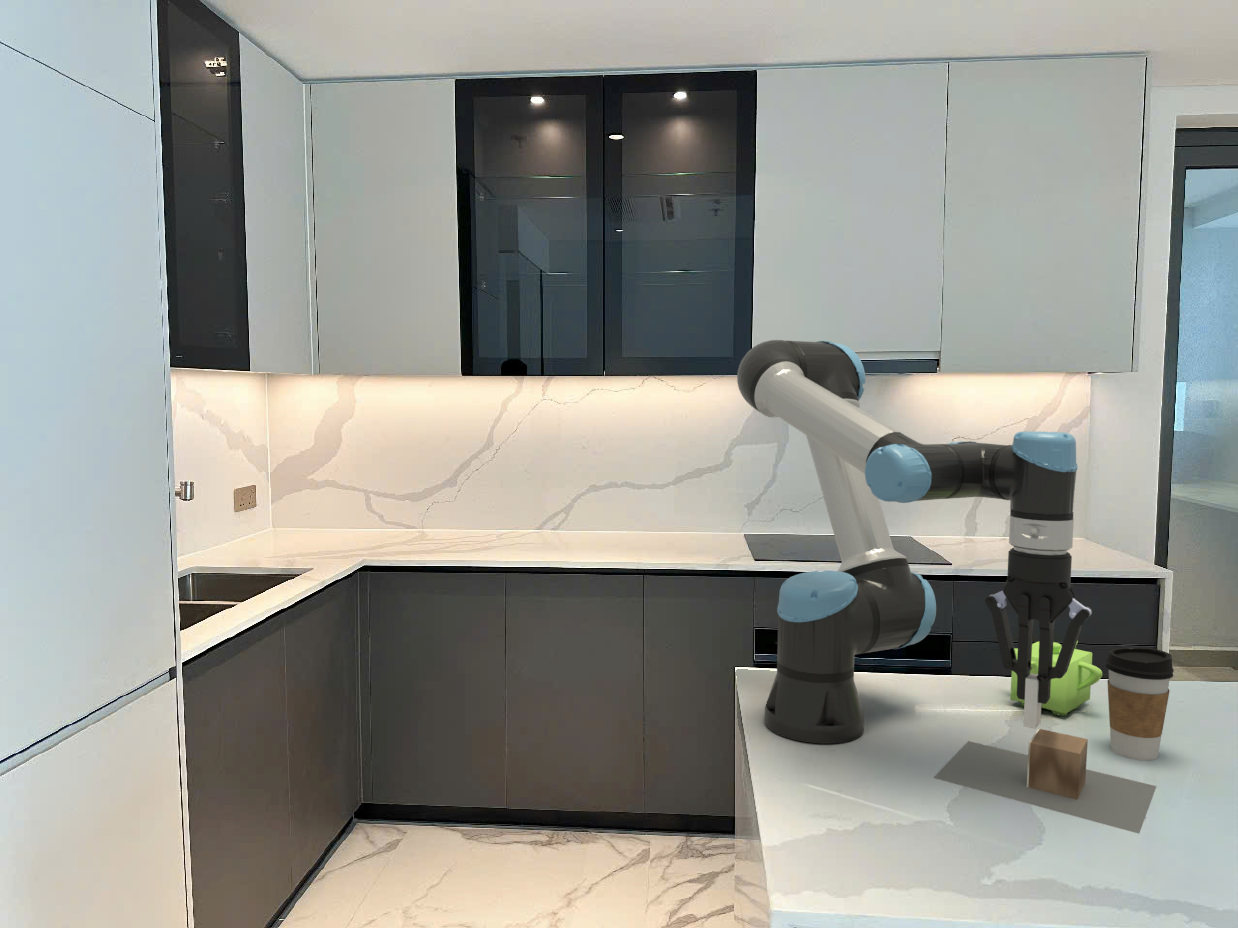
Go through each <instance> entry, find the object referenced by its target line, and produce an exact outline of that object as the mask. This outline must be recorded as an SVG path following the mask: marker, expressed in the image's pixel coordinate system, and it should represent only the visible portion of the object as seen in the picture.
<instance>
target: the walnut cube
mask: <svg viewBox="0 0 1238 928" xmlns="http://www.w3.org/2000/svg"><path fill="white" fill-rule="evenodd" d="M1088 740H1089V739H1088V738H1084V737H1079V736H1075V735H1070V734H1065V733H1061V732H1056V731H1052V730H1047V729H1042V728H1037V729H1036V731H1035V732H1034V735H1033V736H1032V737H1031V738H1030V740H1029V742H1028V754H1027V755H1028V771H1027V787H1029V788H1033V789H1037V790H1041V791H1045V792H1049V793H1053V794H1057V795H1061V796H1065V797H1069V798H1073V799H1077V800H1078V798H1079V796H1080V793H1081V791H1082V789H1083V787H1084V785H1085V779H1086V769H1087V762H1088V761H1087V758H1088V757H1087V756H1088Z"/></svg>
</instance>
